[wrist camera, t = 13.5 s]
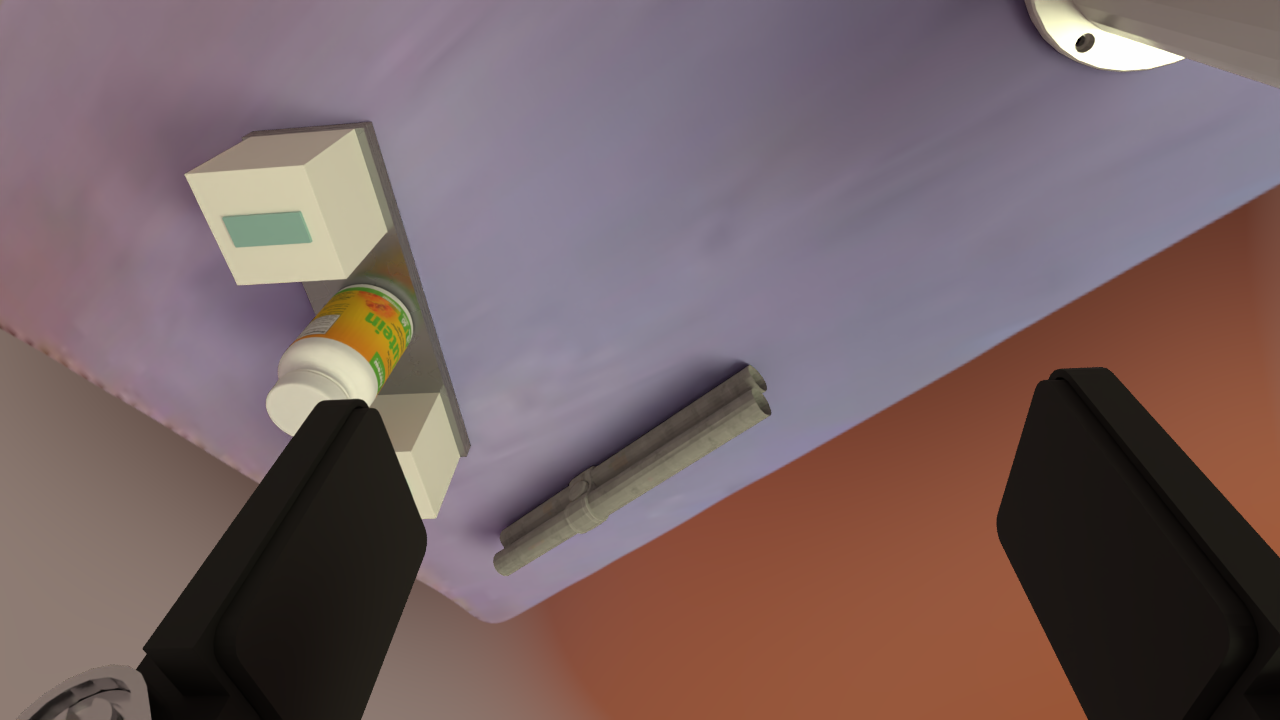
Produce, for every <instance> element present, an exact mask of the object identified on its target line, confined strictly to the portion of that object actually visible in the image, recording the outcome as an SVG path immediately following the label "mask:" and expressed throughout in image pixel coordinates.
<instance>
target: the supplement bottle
mask: <svg viewBox="0 0 1280 720" xmlns="http://www.w3.org/2000/svg"><path fill="white" fill-rule="evenodd" d="M412 334H413V323H412V319H411V316H410V313H409V312H408V310H407V308H406V307H405V306H404V304H403V303H402V302H401V301H400V300H399V299H398V298H397V297H396V296H394V295H393V294H391V293H390V292H388V291H386V290H384V289H382V288H380V287H377V286H373V285H368V284H356V285H351V286H348V287H345V288H343V289H341V290H340V291H338V292H337V293H336V294H335V295H334V296H333V297H332V298H331V299H330V300H329V302H328V303H327V304H326V305H325V306H324V307H323V308H322V310H321V311H320V312H319V313H318V314H317V315H316V316H315V318H314V319H313V320H312V321H311V322H310V323H309V325H308V326H307V327H306V328H305V329H304V330H303V332H302V333H301V334H300V335H299V336H298V337H297V339H296V340H295V341H294V342H293V343H292V344H291V345H290V347H289V348H288V349H287V350H286V352H285V353H284V354H283V356H282V357H281V360H280V362H279V366H278V378H279V380H278V381H277V383H276V384H275V385H274V387H273V388H272V389H271V391H270V392H269V394H268V396H267V398H266V409H267V412H268V414H269V416H270V418H271V419H272V421H273V422H274V423H275V424H276V425H277V426H278V427H279V428H280V429H281V430H283V431H284V432H285V433H287V434H289V435H291V436H294V435H295V434H296V432H297V431H298V429H299V428H300V427H301V425H302V424H303V422H304V421H305V420H306V418H307V417H308V415H309V414H310V413H311V411H312V410H313V408H314V407H315V406H316V405H317V404H318V403H319V402H321V401H323V400H340V399H362V400H364V401H365V402H366V403H367V404H368V406H369V407H370V405H371V404H372V403H373V401H374V400H375V398H376V397H377V395H378V393H379V392H380V390H381V388H382V387H383V385H384V383H385V382H386V380H387V378H388V377H389V375H390V374H391V372H392V370H393V369H394V367H395V366H396V364H397V362H398V361H399V359H400V357H401V356H402V354H403V353H404V351H405V350H406V348H407V346H408V344H409V342H410V340H411V338H412Z"/></svg>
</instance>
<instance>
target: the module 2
mask: <svg viewBox="0 0 1280 720" xmlns="http://www.w3.org/2000/svg"><path fill="white" fill-rule="evenodd" d="M369 408H375V409H377V410H378V411H379V413H380V415H381V417H382V420H383V422H384V425H385V427H386V430H387V432H388V435H389V438H390V440H391V443H392V445H393V448H394V450H395V453H396V455H397V458H398V461H399V463H400V466H401V468H402V471H403V473H404V476H405V478H406V481H407V483H408V486H409V489H410V491H411V494H412V496H413V499H414V501H415V504H416V506H417V509H418V511H419V514H420V517H421V519H429V518H436V517H437V515H438V512H439V510H440V507H441V504H442V502H443V499H444V497H445V494H446V492H447V489H448V487H449V484H450V481H451V479H452V476H453V474H454V471H455V469H456V466H457V463H458V461H459V458H460V455H459V452H458V449H457V446H456V443H455V440H454V436H453V433H452V430H451V427H450V424H449V421H448V418H447V415H446V412H445V408H444V405H443V402H442V399H441V396H440V393H417V394H394V395H377V397H376V398H375V400H374V401H373V403H372V404H371V405H370V407H369Z"/></svg>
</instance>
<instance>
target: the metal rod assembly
mask: <svg viewBox="0 0 1280 720" xmlns="http://www.w3.org/2000/svg"><path fill="white" fill-rule="evenodd" d="M766 390H767V386H766V383H765V381H764V379H763V378H762V376H761V375H760V374H759V373H758V371H757V370H756V369H755V368H753V367H752V366H751V365H749V366H747V367H746V368H744V369H743V370H741V371H740V372H738V373H737V374H735V375H734V376H732V377H731V378H729V379H728V380H726V381H725V382H723V383H722V384H720V385H719V386H717V387H716V388H714V389H713V390H711V391H710V392H708V393H707V394H705V395H704V396H702V397H701V398H699V399H698V400H696V401H695V402H693V403H692V404H690V405H689V406H687V407H685V408H684V409H682V410H681V411H679V412H678V413H676V414H675V415H673V416H672V417H670V418H669V419H667V420H666V421H664V422H663V423H661V424H660V425H658V426H657V427H655V428H654V429H652V430H651V431H649V432H648V433H646V434H645V435H643V436H642V437H640V438H639V439H637V440H636V441H634V442H633V443H631V444H630V445H628V446H627V447H625V448H624V449H622V450H621V451H619V452H618V453H616V454H615V455H613V456H612V457H610V458H609V459H607V460H606V461H604V462H603V463H601V464H600V465H598V466H597V467H596V466H592V467H590V468H588V469H587V470H585V471H584V472H582V473H581V474H579V475H578V476H577V477H576V478H574V479H572V480H571V482H570V483H569V486H568V487H567V488H565V489H564V490H562V491H561V492H559V493H558V494H556V495H555V496H553V497H552V498H550V499H549V500H547V501H546V502H544V503H543V504H541V505H540V506H538V507H537V508H535V509H534V510H532V511H531V512H529V513H528V514H526V515H525V516H523V517H522V518H520V519H519V520H517V521H516V522H514V523H513V524H511V525H510V526H508V527H507V528H505V529H504V530H502V532H501V534H500V541H501V543H502V545H503V546H504V549H503V550H501V551H500V552H498V553H497V554H495V556H494V560H493V563H494V567H495V569H496V570H497V572H499V573H500V574H501V575H503V576H509V575H510V574H512V573H513V572H515V571H517V570H518V569H520V568H521V567H523V566H525V565H526V564H528V563H530V562H531V561H533V560H535V559H536V558H538V557H540V556H541V555H543V554H544V553H546V552H548V551H549V550H551V549H553V548H554V547H556V546H558V545H559V544H561V543H562V542H564V541H566V540H567V539H569V538H571V537H572V536H574V535H576V534H577V533H580V534H583V533H586V532H587V531H590V530H592V529H593V528H595V527H597V526H598V525H600V524H602V523H603V522H604V521H606V519H607V518H608V516H609V515H610V514H611V513H613V512H615V511H616V510H618V509H620V508H621V507H623V506H624V505H626V504H628V503H629V502H631V501H633V500H634V499H636V498H637V497H639V496H641V495H642V494H644V493H645V492H647V491H649V490H650V489H652V488H654V487H655V486H657V485H658V484H660V483H662V482H663V481H665V480H666V479H668V478H670V477H671V476H673V475H675V474H676V473H678V472H679V471H681V470H683V469H684V468H686V467H687V466H689V465H691V464H692V463H694V462H696V461H697V460H699V459H700V458H702V457H704V456H705V455H707V454H708V453H710V452H712V451H713V450H715V449H717V448H718V447H720V446H721V445H723V444H725V443H726V442H728V441H729V440H731V439H733V438H734V437H736V436H738V435H739V434H741V433H742V432H744V431H746V430H747V429H749V428H751V427H752V426H754V425H755V424H757V423H759V422H760V421H762V420H763V419H765V418H767V417H768V416H770V415H771V410H770V407H769V404H768V402H767V400H766V399H765V397H764V396H763V394H762V393H764V392H765V391H766Z"/></svg>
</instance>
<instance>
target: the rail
mask: <svg viewBox="0 0 1280 720" xmlns="http://www.w3.org/2000/svg"><path fill="white" fill-rule="evenodd" d="M343 129H355V132H356V135H357V138H358V141H359V144H360V148H361V151H362V154H363V157H364V160H365V163H366V166H367V169H368V172H369V175H370V179H371V182H372V185H373V188H374V191H375V194H376V197H377V200H378V203H379V207H380V210H381V213H382V216H383V219H384V222H385V225H386V228H387V233H386V234H385V235H384V236H383V237H382V238H381V240H380V241H379V242H378V243H377V244H376V245H375V246H374V248H373V249H372V250H371V251H370V252H369V253H368V255H367V256H366V257H365V258H364V259H363V260H362V262H361V263H360V264H359V265H358V266H357V267H356V268H355V270H354V271H353V272H352V273H351V274H350V275H349V277H348V278H347V279H337V280H320V281H303V282H302V284H303V286H304V289H305V291H306V293H307V296H308V298H309V301H310V303H311V305H312V308H313V310H314V312H315V315H317V314H318V313H319V312H320V311H321V310H322V308H323V307H324V306H325V305H326V304H327V303H328V302H329V300H330V299H331V298H332V297H333V296H334V295H335V294H336V293H337V292H338V291H340V290H341V289H343V288H345V287H348V286H351V285H356V284H368V285H373V286H377V287H380V288H382V289H384V290H386V291H388V292H390V293H391V294H393V295H394V296H396V297H397V298H398V299H399V300H400V301H401V302H402V303H403V304H404V306H405V307H406V308H407V310H408V312H409V313H410V316H411V319H412V323H413V334H412V338H411V340H410V342H409V344H408V346H407V348H406V350H405V351H404V353H403V354H402V356H401V357H400V359H399V361H398V362H397V364H396V366H395V367H394V369H393V370H392V372H391V374H390V375H389V377H388V378H387V380H386V382H385V383H384V385H383V387H382V388H381V390H380V392H379V393H378V395H394V394H417V393H440V396H441V399H442V402H443V405H444V408H445V412H446V415H447V418H448V421H449V424H450V427H451V430H452V433H453V436H454V440H455V443H456V446H457V449H458V452H459V455H460V457H467V454H468V452H469V449H470V446H471V445H470V442H469V438H468V435H467V432H466V429H465V425H464V422H463V419H462V416H461V412H460V409H459V406H458V403H457V399H456V396H455V393H454V389H453V386H452V383H451V380H450V376H449V373H448V370H447V367H446V363H445V360H444V357H443V354H442V350H441V347H440V344H439V340H438V337H437V334H436V331H435V327H434V324H433V321H432V318H431V314H430V311H429V308H428V305H427V301H426V298H425V295H424V291H423V288H422V285H421V282H420V278H419V275H418V272H417V269H416V265H415V262H414V259H413V256H412V252H411V249H410V246H409V242H408V239H407V236H406V233H405V229H404V226H403V223H402V220H401V216H400V213H399V210H398V207H397V203H396V200H395V197H394V193H393V190H392V187H391V184H390V180H389V177H388V174H387V171H386V167H385V164H384V161H383V158H382V154H381V151H380V148H379V144H378V141H377V138H376V135H375V131H374V128H373V125H372V122H362V123H350V124H338V125H325V126H313V127H301V128H288V129H276V130H264V131H253V132H251V133H249V134H247V135H245V136H244V137H242V140H243V141H244V140H246V139H247V138H249V137H256V136H269V135H281V134H293V133H306V132H318V131H331V130H343Z"/></svg>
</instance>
